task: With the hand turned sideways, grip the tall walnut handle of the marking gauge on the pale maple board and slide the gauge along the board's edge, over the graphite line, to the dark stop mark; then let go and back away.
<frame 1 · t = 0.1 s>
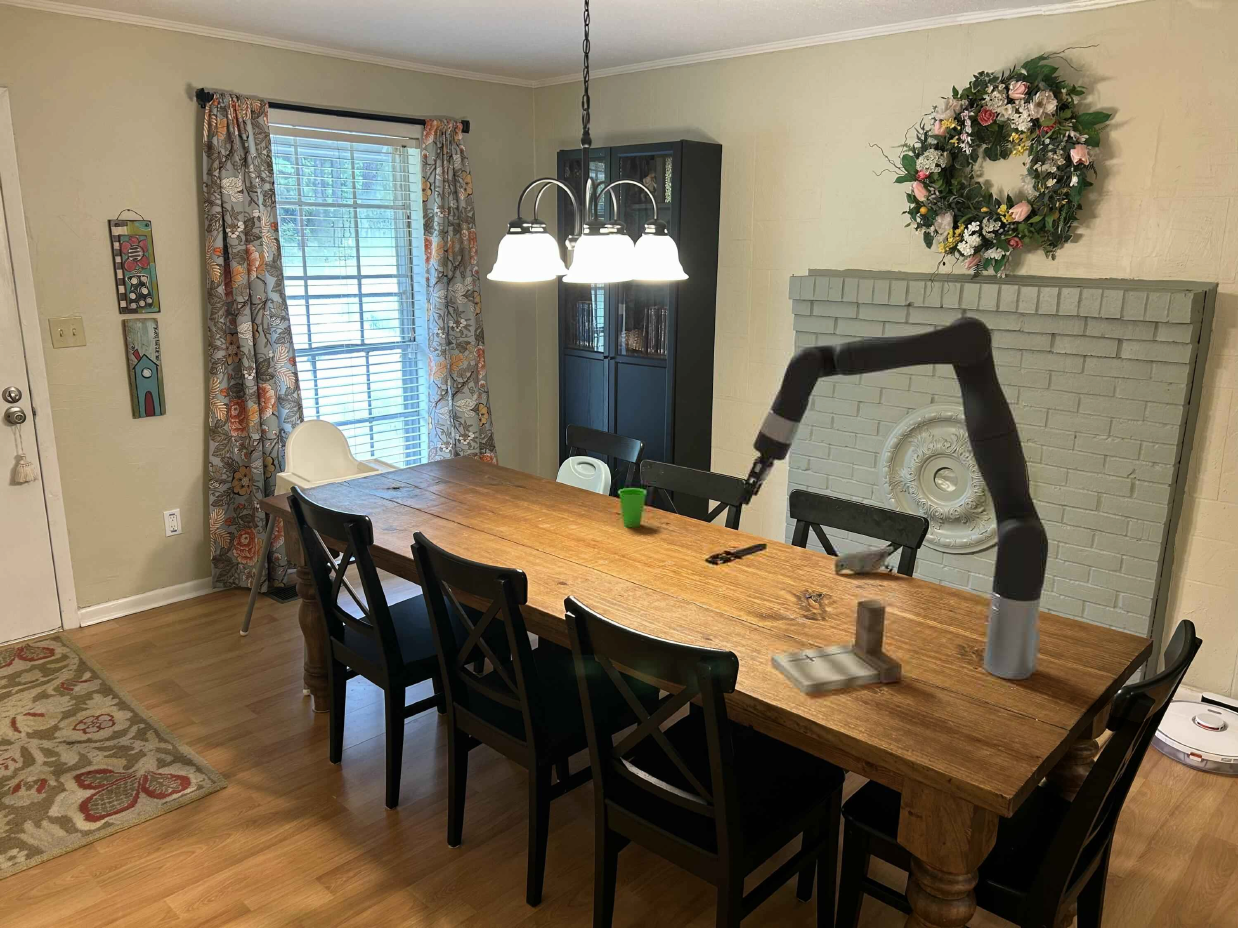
hand: (748, 498, 203), 31 cm above the table, tool tilted 20°, fingers open, 8 cm apart
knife: (738, 555, 263), on the table
cup: (631, 525, 288), on the table
maple board: (833, 671, 190), on the table
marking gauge: (876, 638, 189), point 7 cm above the table, slide at 0.0 cm
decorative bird: (862, 574, 248), on the table
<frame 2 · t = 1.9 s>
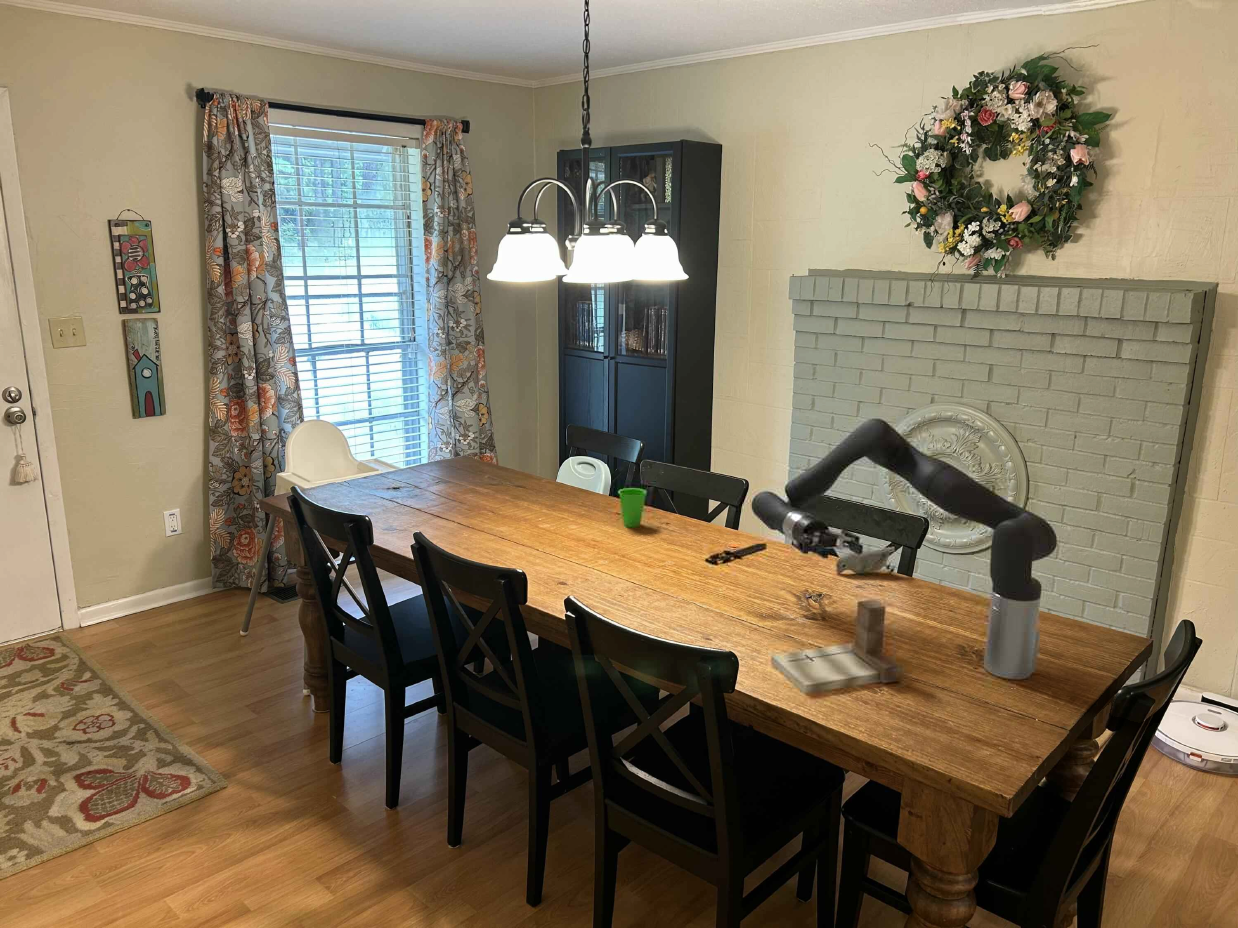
hand: (844, 552, 198), 22 cm above the table, tool horizontal, fingers open, 8 cm apart
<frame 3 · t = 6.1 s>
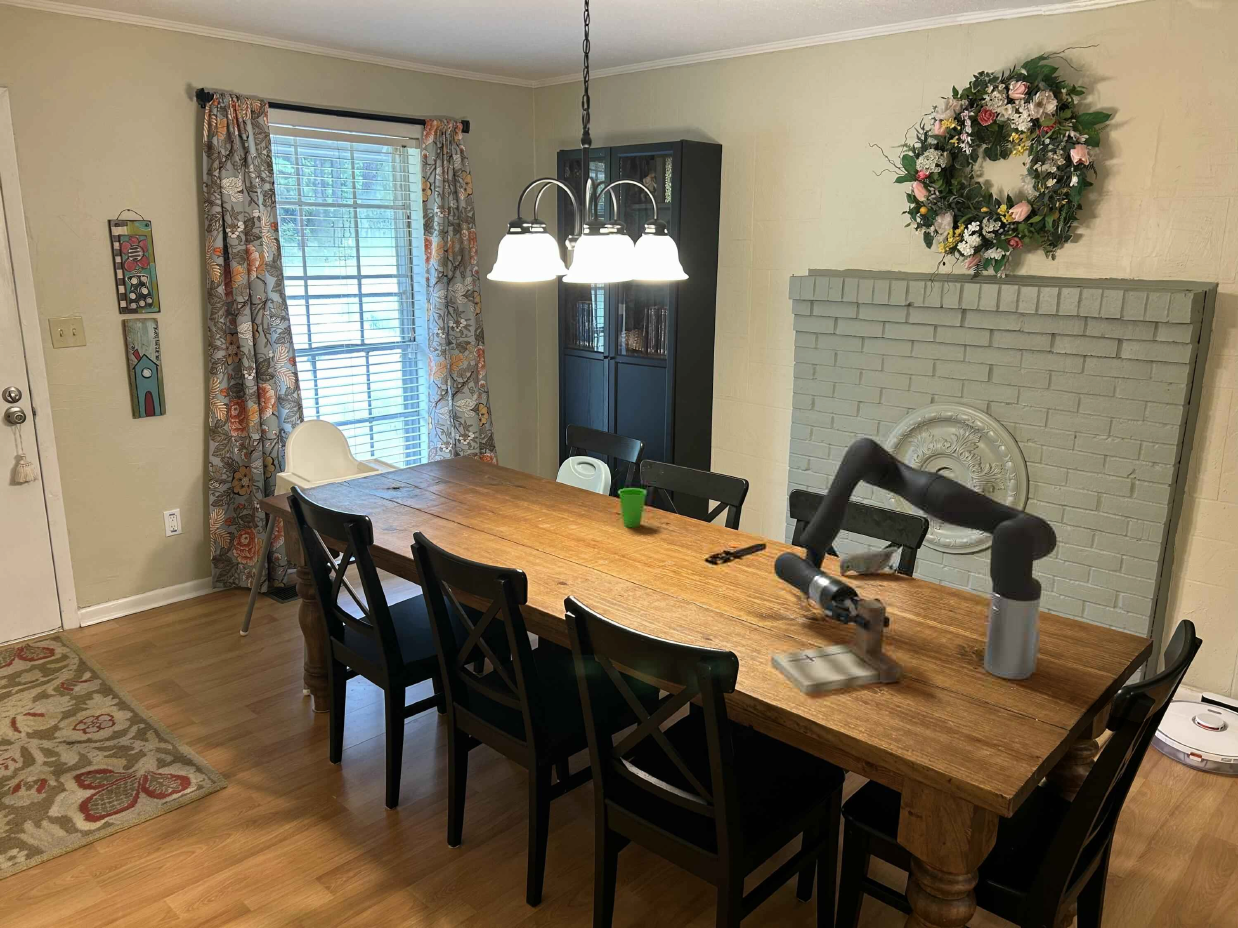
hand: (878, 624, 188), 10 cm above the table, tool horizontal, fingers closed on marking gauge, 4 cm apart
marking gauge: (876, 638, 189), point 7 cm above the table, slide at 0.0 cm, touching gripper
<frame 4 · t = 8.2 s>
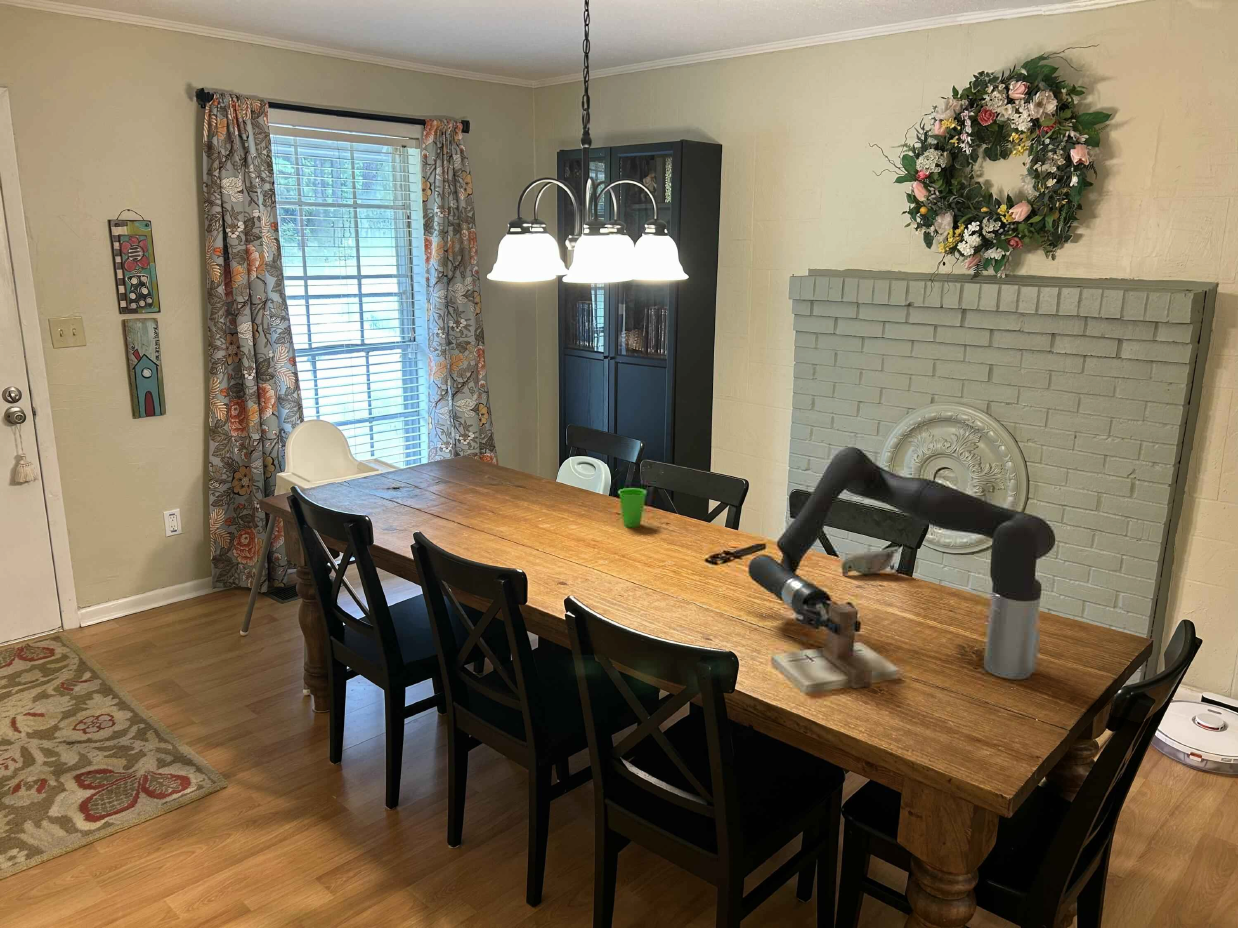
hand: (849, 628, 185), 11 cm above the table, tool horizontal, fingers closed on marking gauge, 4 cm apart
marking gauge: (847, 642, 186), point 7 cm above the table, slide at 7.0 cm, touching gripper
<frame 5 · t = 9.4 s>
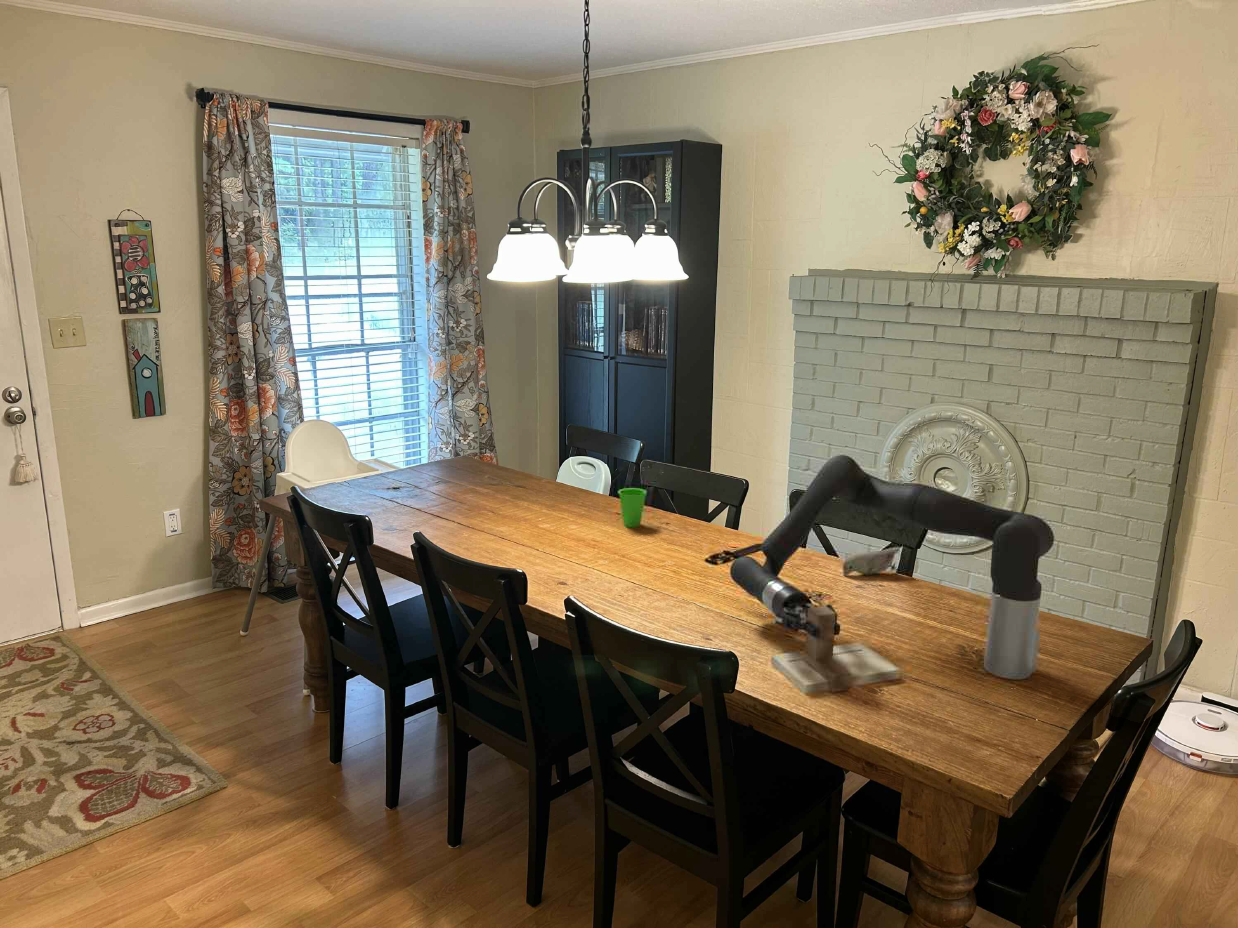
hand: (828, 631, 184), 11 cm above the table, tool horizontal, fingers closed on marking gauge, 4 cm apart
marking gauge: (826, 646, 185), point 7 cm above the table, slide at 11.9 cm, touching gripper
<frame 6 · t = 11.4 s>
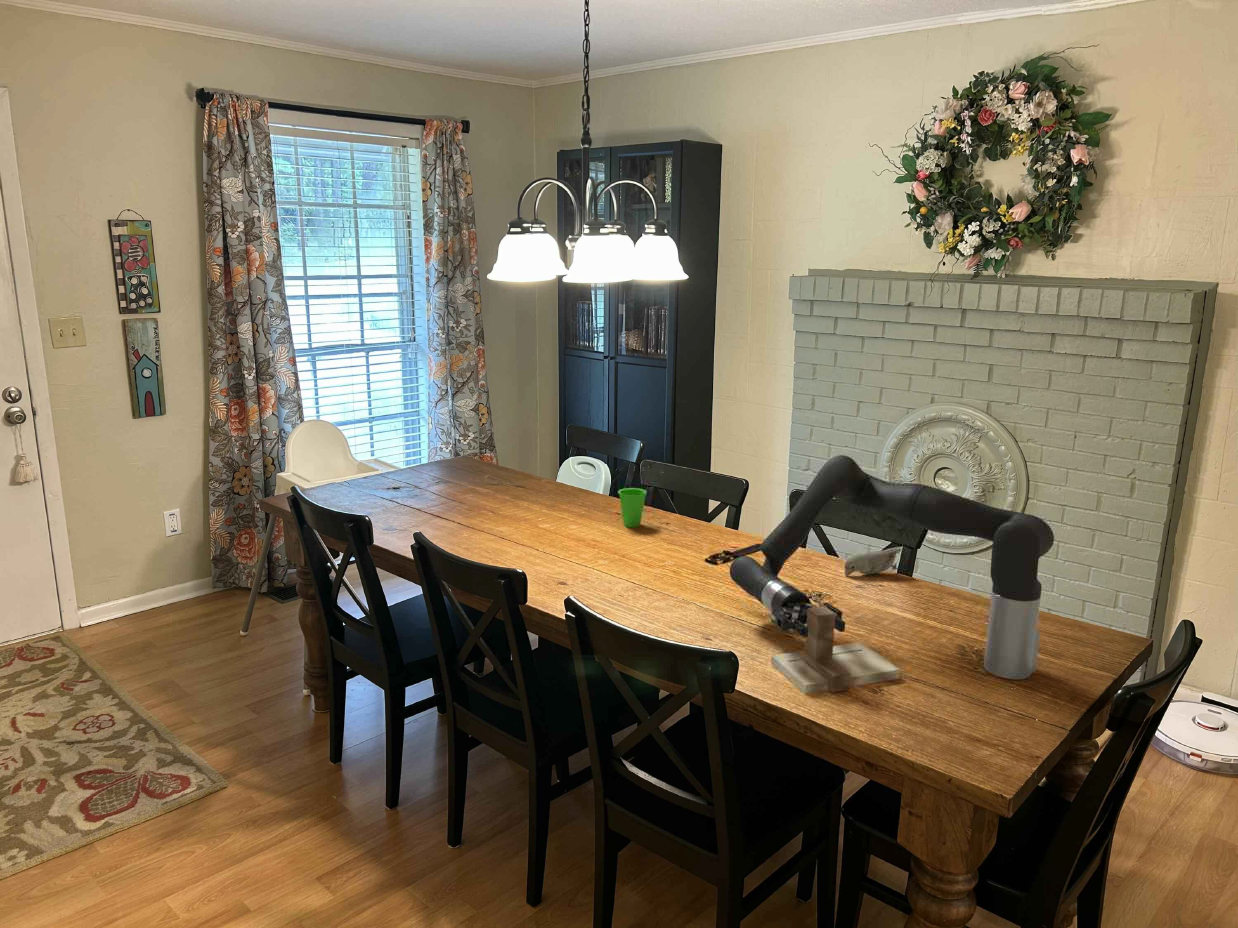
hand: (825, 630, 185), 10 cm above the table, tool horizontal, fingers open, 8 cm apart
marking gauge: (826, 646, 185), point 7 cm above the table, slide at 12.0 cm
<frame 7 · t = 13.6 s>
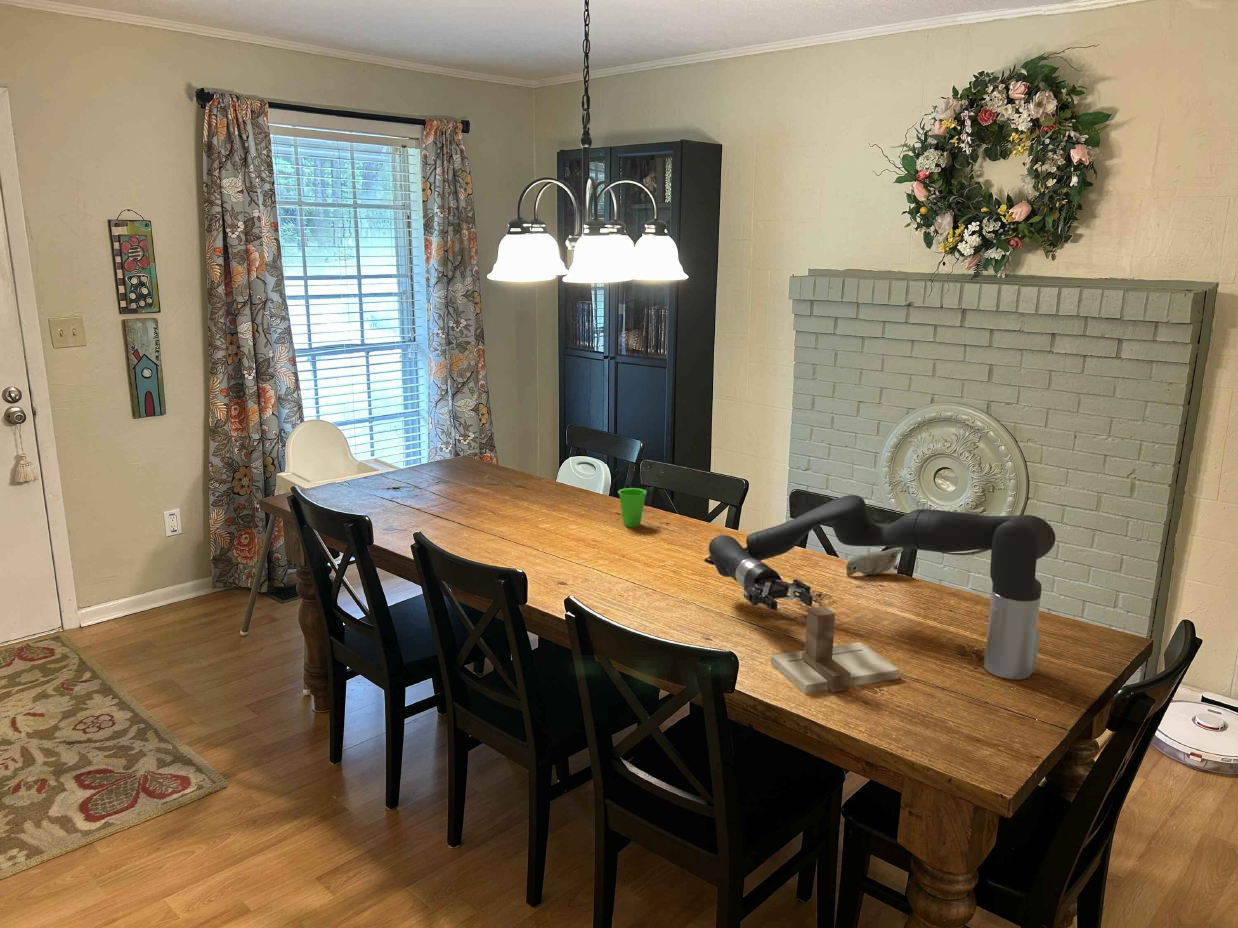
hand: (793, 604, 196), 11 cm above the table, tool horizontal, fingers open, 8 cm apart
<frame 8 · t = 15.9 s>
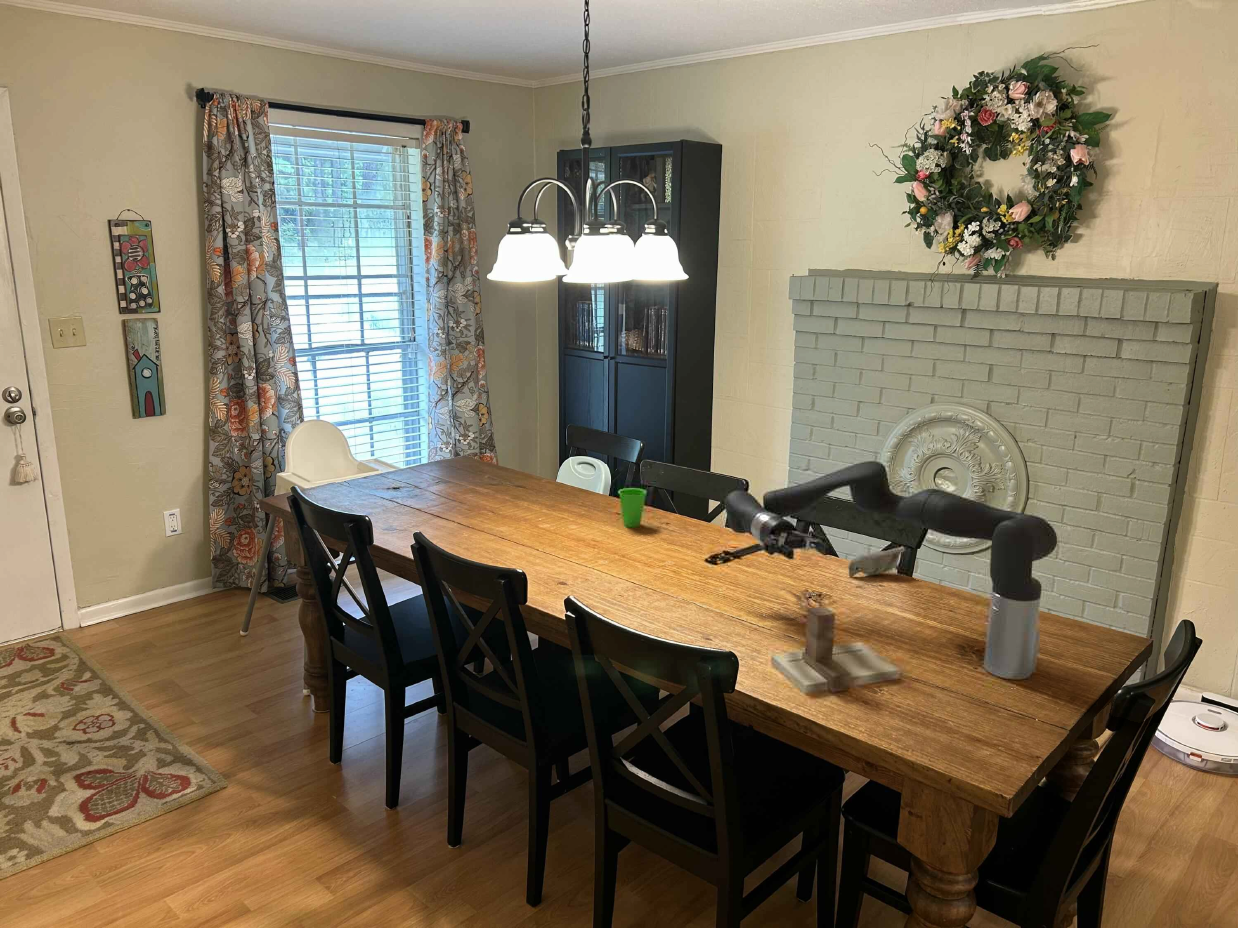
hand: (809, 553, 196), 22 cm above the table, tool horizontal, fingers open, 8 cm apart
at the end: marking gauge slide at 12.0 cm; the gripper is holding nothing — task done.
